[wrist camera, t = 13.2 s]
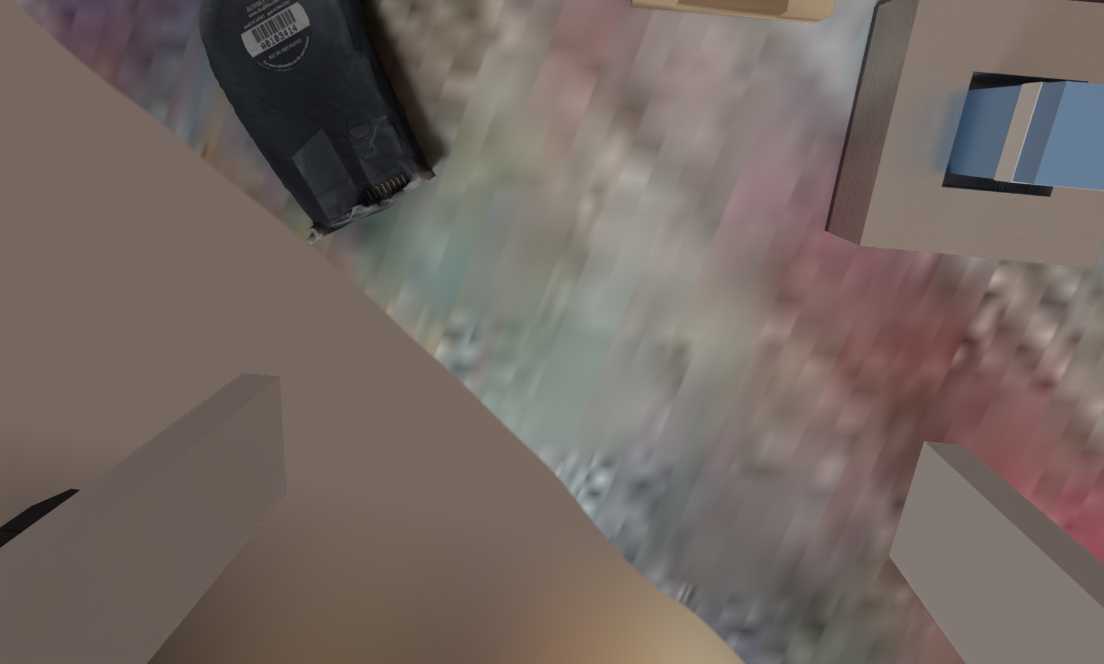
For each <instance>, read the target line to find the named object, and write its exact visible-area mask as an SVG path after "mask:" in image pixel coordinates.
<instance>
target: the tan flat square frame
mask: <svg viewBox="0 0 1104 664" xmlns="http://www.w3.org/2000/svg"><path fill="white" fill-rule="evenodd" d="M834 2H835V0H631V5H630V7H636V8H648V9H659V10H671V11H682V12H694V13H705V14H717V15H728V16H740V17H751V18H763V19H774V20H786V21H797V22H809V23H816V22H818V21H820V20H822V19H824V18H827V17H829V16H831V15H832V11H833V6H834Z"/></svg>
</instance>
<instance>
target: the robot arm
mask: <svg viewBox="0 0 1104 664" xmlns="http://www.w3.org/2000/svg"><path fill="white" fill-rule="evenodd" d="M285 494H286V480H285V463H284V444H283V425H282V408H281V389H280V377H278V376H268V375H259V374H248V373H242V374H241V375H240V376H238V377H237V378H235V379H234V380H233V381H231V382H230V383H228V384H227V385H226V386H224V387H223V388H222V389H220V390H219V391H217V392H216V393H215V394H213V395H212V396H210V397H209V398H208V399H206V400H205V401H204V402H202V403H201V404H199V405H198V406H196V407H195V408H194V409H192V410H191V411H190V412H188V413H187V414H185V415H184V416H183V417H181V418H180V419H178V420H177V421H176V422H174V423H173V424H171V425H170V426H169V427H167V428H166V429H165V430H163V431H162V432H160V433H159V434H158V435H156V436H155V437H153V438H152V439H151V440H149V441H148V442H147V443H145V444H144V445H142V446H141V447H140V448H138V449H137V450H135V451H134V452H133V453H131V454H130V455H128V456H127V457H126V458H124V459H123V460H122V461H120V462H119V463H117V464H116V465H115V466H113V467H112V468H110V469H109V470H108V471H106V472H105V473H103V474H102V475H101V476H99V477H98V478H97V479H95V480H94V481H92V482H91V483H90V484H88V485H87V486H86V487H84V488H83V489H81V490H76V489H70V490H68V491H65V492H63V493H61V494H58V495H56V496H54V497H52V498H49V499H47V500H45V501H42V502H40V503H38V504H35V505H33V506H31V507H30V508H28V509H26V510H25V511H24V512H22V513H21V514H19V515H18V516H17V517H15V518H13V519H12V520H10V521H9V522H8V523H6V524H5V525H3V526H2V527H0V664H147V663H148V661H149V660H150V659H151V657H153V655H154V654H155V653H156V652H157V650H158V649H159V648H160V647H161V646H162V644H163V643H164V641H166V639H167V638H168V637H169V636H170V635H171V633H172V632H173V631H174V629H175V628H176V627H177V626H178V625H179V623H180V622H181V621H182V620H183V619H184V617H185V616H186V615H187V614H188V612H189V611H190V610H191V609H192V607H193V606H194V605H195V604H196V603H197V601H198V600H199V599H200V598H201V596H202V595H203V594H204V593H205V592H206V590H207V589H208V588H209V587H210V585H211V584H212V583H213V582H214V581H215V579H216V578H217V577H218V576H219V575H220V573H221V572H222V571H223V570H224V568H225V567H226V566H227V565H228V563H229V562H230V561H231V560H232V559H233V557H234V556H235V555H236V554H237V552H238V551H239V550H240V549H241V548H242V546H243V545H244V544H245V543H246V541H247V540H248V539H249V538H250V536H251V535H252V534H253V533H254V531H255V530H256V529H257V528H258V527H259V525H260V524H261V523H262V522H263V520H264V519H265V518H266V517H267V515H268V514H269V513H270V512H271V511H272V509H273V508H274V507H275V506H276V505H277V503H278V502H279V501H280V500H281V499H282V497H283V496H284V495H285ZM889 556H890V557H891V559H892V560H893V562H894V563H895V565H896V566H897V567H898V569H899V570H900V572H901V573H902V574H903V576H904V577H905V579H906V580H907V582H908V583H909V584H910V586H911V587H912V589H913V590H914V591H915V593H916V594H917V596H918V597H919V598H920V600H921V601H922V603H923V604H924V606H925V607H926V608H927V610H928V611H929V613H930V614H931V615H932V617H933V618H934V620H935V621H936V622H937V624H938V625H939V627H940V628H941V630H942V631H943V632H944V634H945V635H946V637H947V638H948V639H949V641H950V642H951V644H952V645H953V646H954V648H955V649H956V651H957V652H958V654H959V655H960V656H961V658H962V659H963V661H964V662H965V663H966V664H1104V564H1103V563H1102V562H1100V561H1099V560H1098V559H1097V558H1096V557H1095V556H1093V555H1092V554H1091V553H1090V552H1089V551H1087V550H1086V549H1085V548H1084V547H1083V546H1082V545H1080V544H1079V543H1078V542H1077V541H1076V540H1074V539H1073V538H1072V537H1071V536H1070V535H1069V534H1067V533H1066V532H1065V531H1064V530H1063V529H1061V528H1060V527H1059V526H1058V525H1057V524H1055V523H1054V522H1053V521H1052V520H1051V519H1050V518H1048V517H1047V516H1046V515H1045V514H1044V513H1042V512H1041V511H1040V510H1039V509H1038V508H1037V507H1035V506H1034V505H1033V504H1032V503H1031V502H1029V501H1028V500H1027V499H1026V498H1025V497H1024V496H1022V495H1021V494H1020V493H1019V492H1018V491H1016V490H1015V489H1014V488H1013V487H1012V486H1010V485H1009V484H1008V483H1007V482H1006V481H1005V480H1003V479H1002V478H1001V477H1000V476H999V475H997V474H996V473H995V472H994V471H993V470H992V469H990V468H989V467H988V466H987V465H986V464H984V463H983V462H982V461H981V460H980V459H979V458H977V457H976V456H975V455H974V454H973V453H971V452H970V451H969V450H968V449H967V448H965V447H964V446H963V445H956V444H946V443H936V442H926V441H924V444H923V447H922V450H921V454H920V457H919V460H918V464H917V467H916V470H915V473H914V477H913V480H912V483H911V486H910V490H909V493H908V496H907V499H906V503H905V506H904V509H903V512H902V516H901V519H900V522H899V526H898V529H897V532H896V535H895V539H894V542H893V545H892V548H891V552H890V555H889Z"/></svg>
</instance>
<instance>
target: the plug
mask: <svg viewBox="0 0 1104 664" xmlns="http://www.w3.org/2000/svg"><path fill="white" fill-rule="evenodd" d="M945 173H951V174H959V175H967V176H975V177H982V178H990V179H994V180H996V181H1004V182H1012V183H1023V184H1034V185H1045V186H1055V187H1066V188H1077V189H1088V190H1099V191H1104V84H1095V83H1084V82H1072V81H1062V82H1051V83H1048V82H1036V83H1026V84H1022V85H1020V86H1009V87H998V88H988V89H977V90H968V93H967V96H966V100H965V104H964V107H963V111H962V114H961V118H960V122H959V125H958V129H957V133H956V136H955V140H954V143H953V147H952V151H951V154H950V158H949V161H948V165H947V169H946V172H945Z"/></svg>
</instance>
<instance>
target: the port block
mask: <svg viewBox="0 0 1104 664" xmlns="http://www.w3.org/2000/svg"><path fill="white" fill-rule="evenodd" d="M1062 81H1072V82H1084V83H1095V84H1104V3H1095V2H1083V1H1071V0H891V1H889V2H887V3H884V4H882V5H879V6H877V7H875V8H874V13H873V17H872V22H871V26H870V31H869V35H868V40H867V44H866V49H865V53H864V58H863V62H862V67H861V71H860V75H859V80H858V84H857V89H856V93H855V98H854V102H853V107H852V111H851V116H850V120H849V125H848V129H847V134H846V138H845V142H844V147H843V151H842V156H841V160H840V165H839V169H838V174H837V178H836V183H835V187H834V192H833V196H832V201H831V205H830V209H829V214H828V218H827V223H826V227H825V231H827V232H829V233H832V234H834V235H836V236H839V237H841V238H843V239H845V240H848V241H850V242H852V243H855V244H857V245H859V246H869V247H879V248H890V249H900V250H911V251H922V252H932V253H943V254H953V255H964V256H975V257H985V258H996V259H1006V260H1017V261H1028V262H1038V263H1049V264H1059V265H1070V266H1081V267H1091V268H1093V267H1094V264H1095V262H1096V259H1097V256H1098V254H1099V251H1100V248H1101V245H1102V243H1103V240H1104V191H1099V190H1088V189H1077V188H1066V187H1055V186H1045V185H1034V184H1023V183H1012V182H1004V181H996V180H994V179H990V178H982V177H975V176H967V175H959V174H951V173H945V172H946V169H947V165H948V161H949V158H950V154H951V151H952V147H953V143H954V140H955V136H956V133H957V129H958V125H959V122H960V118H961V114H962V111H963V107H964V104H965V100H966V96H967V93H968V90H977V89H988V88H998V87H1009V86H1020V85H1022V84H1026V83H1036V82H1048V83H1051V82H1062Z"/></svg>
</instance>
